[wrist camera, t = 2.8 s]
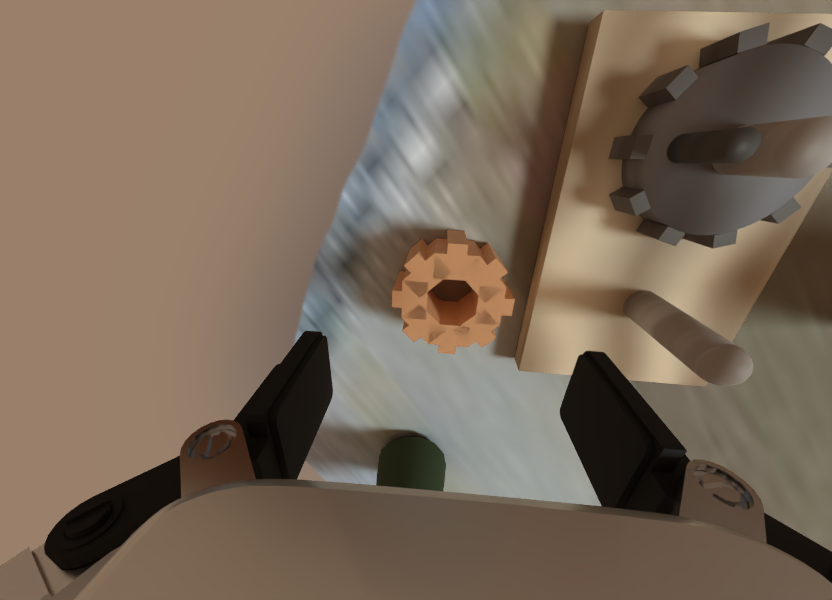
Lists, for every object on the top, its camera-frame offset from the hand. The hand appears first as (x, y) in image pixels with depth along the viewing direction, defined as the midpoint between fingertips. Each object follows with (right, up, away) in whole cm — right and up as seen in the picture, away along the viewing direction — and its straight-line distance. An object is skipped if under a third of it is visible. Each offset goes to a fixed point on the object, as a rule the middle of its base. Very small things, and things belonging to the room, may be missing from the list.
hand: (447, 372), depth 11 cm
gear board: (+13, +7, +7) cm, 17 cm away
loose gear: (+1, +4, +10) cm, 11 cm away
